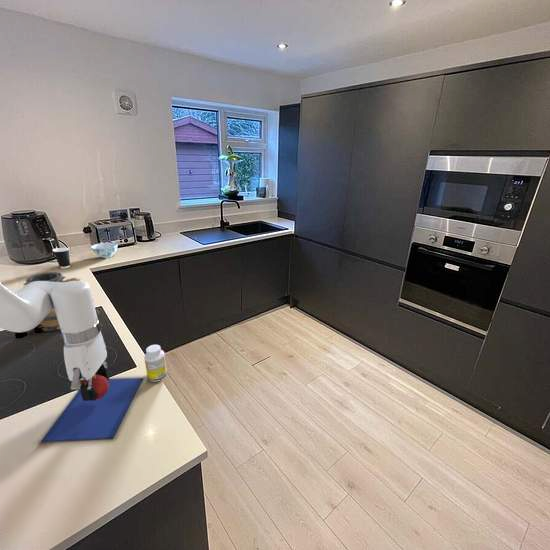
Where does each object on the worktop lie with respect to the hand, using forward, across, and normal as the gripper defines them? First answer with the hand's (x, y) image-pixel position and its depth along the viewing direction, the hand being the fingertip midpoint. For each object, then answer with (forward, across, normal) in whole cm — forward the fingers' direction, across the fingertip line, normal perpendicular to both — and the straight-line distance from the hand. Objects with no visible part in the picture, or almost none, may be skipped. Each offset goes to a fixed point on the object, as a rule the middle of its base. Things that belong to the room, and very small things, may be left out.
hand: (96, 389), depth 76 cm
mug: (+5, -43, -34) cm, 55 cm away
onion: (+3, 0, 0) cm, 3 cm away
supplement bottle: (+5, -10, +12) cm, 16 cm away
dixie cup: (+5, -108, -71) cm, 129 cm away
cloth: (+5, +1, 0) cm, 5 cm away
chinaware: (+5, -128, -56) cm, 140 cm away
